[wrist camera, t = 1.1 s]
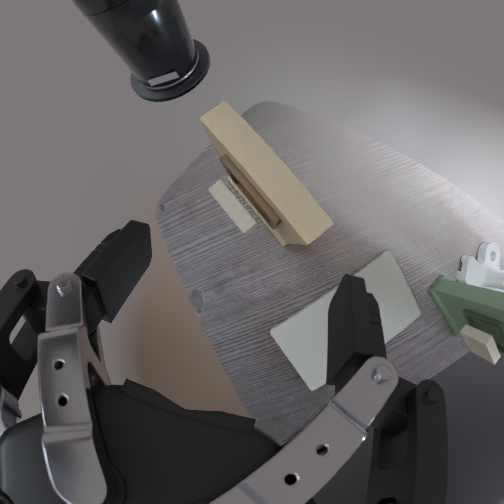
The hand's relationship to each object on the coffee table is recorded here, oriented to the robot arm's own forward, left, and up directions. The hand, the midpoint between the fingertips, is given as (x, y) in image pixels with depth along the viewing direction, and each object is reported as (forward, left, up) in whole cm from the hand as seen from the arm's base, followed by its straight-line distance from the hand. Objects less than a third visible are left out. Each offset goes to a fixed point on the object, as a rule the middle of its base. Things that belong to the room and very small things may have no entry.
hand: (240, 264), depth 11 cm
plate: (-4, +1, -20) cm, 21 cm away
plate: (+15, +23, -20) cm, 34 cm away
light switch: (+11, +9, -20) cm, 25 cm away
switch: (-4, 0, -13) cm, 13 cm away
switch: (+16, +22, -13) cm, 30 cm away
